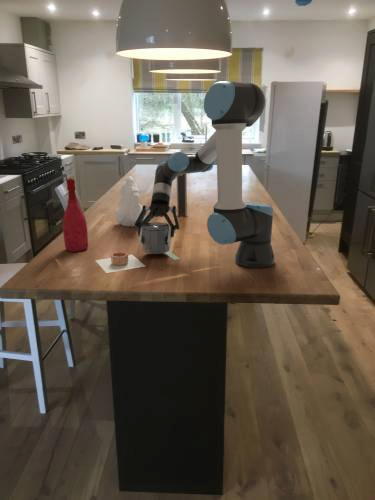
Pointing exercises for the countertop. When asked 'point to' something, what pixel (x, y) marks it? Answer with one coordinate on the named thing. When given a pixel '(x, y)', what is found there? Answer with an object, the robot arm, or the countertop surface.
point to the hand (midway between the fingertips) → (154, 243)
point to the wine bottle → (74, 222)
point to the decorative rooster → (129, 203)
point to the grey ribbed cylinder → (155, 237)
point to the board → (110, 267)
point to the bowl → (119, 258)
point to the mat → (172, 255)
